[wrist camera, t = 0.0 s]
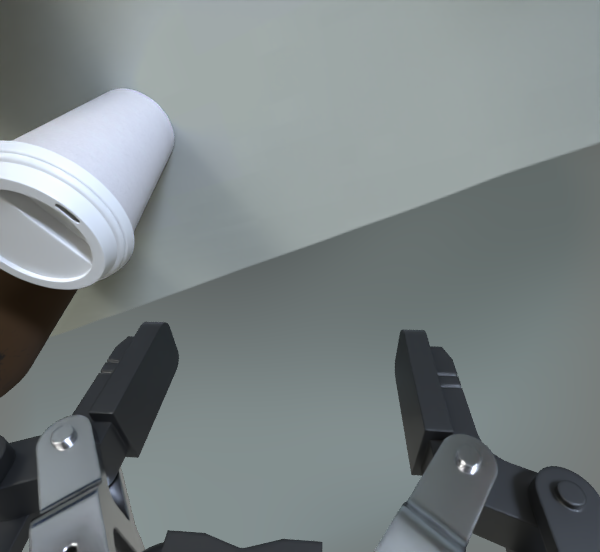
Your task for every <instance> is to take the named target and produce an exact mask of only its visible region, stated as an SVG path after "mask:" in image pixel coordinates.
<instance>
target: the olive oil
mask: <svg viewBox="0 0 600 552" xmlns="http://www.w3.org/2000/svg"><path fill="white" fill-rule="evenodd" d="M77 290H78V289H71V290H64V289H54V288H48V287H44V286H40V285H36V284H33V283H30V282H27V281H25V280H22V279H20V278H18V277H16V276H13V275H11V274H9V273H8V272H6V271H4V270H2V269H0V397H2V396H3V395H5V394H6V393H7V392H8V391H9V390H11V389H12V388H13V387H14V386H15V385H16V384H17V383H19V382H20V380H21V379H22V378H23V377H24V376H25V375H26V374H27V372H28V371H29V369H30V368H31V366H32V364H33V363H34V361H35V359H36V358H37V356H38V354H39V353H40V351H41V349H42V348H43V346H44V344H45V343H46V341H47V339H48V338H49V336H50V334H51V333H52V331H53V329H54V327H55V326H56V324H57V323H58V321H59V319H60V318H61V316H62V314H63V313H64V311H65V309H66V308H67V306H68V304H69V303H70V301H71V300H72V298H73V296H74V295H75V293H76V291H77Z"/></svg>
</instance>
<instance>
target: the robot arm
mask: <svg viewBox="0 0 600 552" xmlns="http://www.w3.org/2000/svg"><path fill="white" fill-rule="evenodd" d="M178 359H179V354H178V350H177V347H176V344H175V341H174V338H173V336H172V332H171V330H170V327H169V325H168V323H163V322H144V323H143V324H142V325H141V326H140V328H139V330H138V331H137V333H136V334H135V336H134V337H130V336H129V337H127V338H126V339H125V340H124V341H122V342H121V343H120V344H119V345H118V346H117V347H116V348H115V349H114V351H113V352H112V354H111V355H110V357H109V359H108V360H107V363H105V365H104V366H103V368H102V369H101V373H99V374H98V376H97V377H96V379H95V380H94V382H93V384H92V385H91V387H90V388H89V390H88V391H87V393H86V394H85V396H84V397H83V399H82V400H81V402H80V404H79V405H78V407H77V408H76V410H75V411H74V413H73V414H72V415H71V416H67V417H65V418H63V419H60V420H58V421H56V422H55V423H53V424H52V425H51V426H50V427H48V428H47V429H46V430H45V432H44V433H43V434H42V435H41V436H36V437H33V438H28V439H24V440H20V441H16V442H12V443H8V442H7V441H6V440H5V438H4V437H2V436H0V552H22V550H23V548H24V546H25V544H26V542H27V540H28V538H29V552H322V542H315V541H302V540H288V539H281V540H277V541H273V542H269V543H264V544H260V545H256V546H252V547H247V548H238V547H236V546H234V545H231V544H229V543H227V542H224V541H222V540H219V539H217V538H215V537H212V536H210V535H208V534H206V533H196V532H183V531H169V530H168V532H167V534H166V538H165V541H164V542H163V543H159V544H157V545H154V546H152V547H149V548H148V549H146V550H145V548H144V545H143V542H142V540H141V537H140V535H139V533H138V531H137V528H136V525H135V522H134V518H133V514H132V510H131V506H130V501H129V497H128V493H127V489H126V485H125V481H124V477H123V473H122V470H121V468H120V467H121V465H122V462H123V460H124V458H125V457H139V455H140V453H141V450H142V448H143V446H144V443H145V441H146V439H147V437H148V434H149V432H150V430H151V427H152V425H153V422H154V420H155V418H156V416H157V413H158V411H159V409H160V406H161V404H162V402H163V400H164V397H165V395H166V393H167V390H168V388H169V386H170V383H171V381H172V379H173V377H174V374H175V372H176V370H177V367H178V361H179V360H178ZM395 377H396V384H397V390H398V396H399V402H400V408H401V414H402V420H403V426H404V432H405V438H406V444H407V450H408V456H409V462H410V468H411V474H412V475H422V477H421V479H420V480H419V482H418V484H417V486H416V487H415V489H414V491H413V492H412V494H411V496H410V497H409V499H408V501H407V502H405V503H404V504H403V505H402V506H401V508H400V509H399V511H398V512H397V514H396V516H395V517H394V519H393V521H392V522H391V524H390V525H389V527H388V529H387V531H386V532H385V534H384V536H383V537H382V539H381V541H380V542H379V544H378V546H377V547H376V549H375V551H374V552H466V547H467V544H468V542H469V539H470V537H471V535H472V533H473V534H476V535H478V536H480V537H482V538H485V539H487V540H490V541H492V542H494V543H496V544H499V545H501V546H503V547H506V551H507V552H600V497H599V495H598V494H597V492H596V491H595V490H594V488H593V487H592V486H591V485H590V484H589V483H588V482H587V481H586V480H584V479H583V478H582V477H581V476H579V475H578V474H576V473H574V472H572V471H570V470H568V469H565V468H562V467H557V466H550V467H546V468H543V469H542V470H540V471H539V473H537V472H534V471H531V470H528V469H525V468H522V467H520V466H517V465H514V464H511V463H509V462H506V461H504V460H502V459H501V458H499V457H497V456H496V455H494V454H493V453H492V452H491V450H490V449H489V448H488V447H487V446H486V445H485V444H484V443H482V441H481V440H480V438H479V436H478V434H477V431H476V428H475V425H474V422H473V419H472V417H471V413H470V410H469V407H468V404H467V402H466V399H465V396H464V393H463V390H462V389H461V384H460V381H459V378H458V377H457V372H456V369H455V366H454V363H453V360H452V359H451V357H450V356H449V355H448V354H447V353H446V352H445V350H444V349H443V348H442V347H430V345H429V342H428V338H427V335H426V332H425V331H424V330H401V332H400V336H399V343H398V348H397V353H396V359H395Z"/></svg>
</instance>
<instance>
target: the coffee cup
mask: <svg viewBox="0 0 600 552" xmlns="http://www.w3.org/2000/svg"><path fill="white" fill-rule="evenodd" d="M174 141H175V138H174V131H173V127H172V125H171V122H170V120H169V118H168V117H167V115H166V114H165V112H164V111H163V110H162V108H161V107H160V106H159V105H158V104H157V103H156V102H154V101H153V100H152V99H151V98H149V97H148V96H146V95H144V94H142V93H140V92H138V91H135V90H131V89H125V88H119V89H114V90H111V91H108V92H106V93H104V94H102V95H100V96H99V97H97V98H95V99H93V100H91V101H89V102H87V103H85V104H83V105H81V106H79V107H77V108H75V109H73V110H71V111H69V112H67V113H65V114H63V115H62V116H60V117H58V118H56V119H54V120H52V121H50V122H48V123H46V124H44V125H42V126H40V127H38V128H36V129H34V130H32V131H30V132H28V133H26V134H24V135H22V136H20V137H18V138H16V139H14V140H12V141H0V269H2V270H4V271H6V272H8V273H9V274H11V275H13V276H16V277H18V278H20V279H22V280H25V281H27V282H30V283H33V284H36V285H40V286H44V287H48V288H54V289H64V290H71V289H80V288H84V287H87V286H90V285H92V284H94V283H95V282H97V281H99V280H102V279H105V278H107V277H109V276H110V275H112V274H114V273H115V272H117V271H118V270H119V269H121V268H122V267H123V266H124V265H125V264H126V263H127V262H128V261H129V259H130V258H131V255H132V253H133V250H134V231H135V229H136V227H137V224H138V222H139V220H140V218H141V216H142V214H143V211H144V209H145V207H146V205H147V203H148V201H149V199H150V197H151V195H152V192H153V190H154V188H155V186H156V184H157V182H158V180H159V178H160V176H161V174H162V171H163V169H164V167H165V165H166V163H167V161H168V159H169V157H170V155H171V153H172V150H173V147H174Z"/></svg>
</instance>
